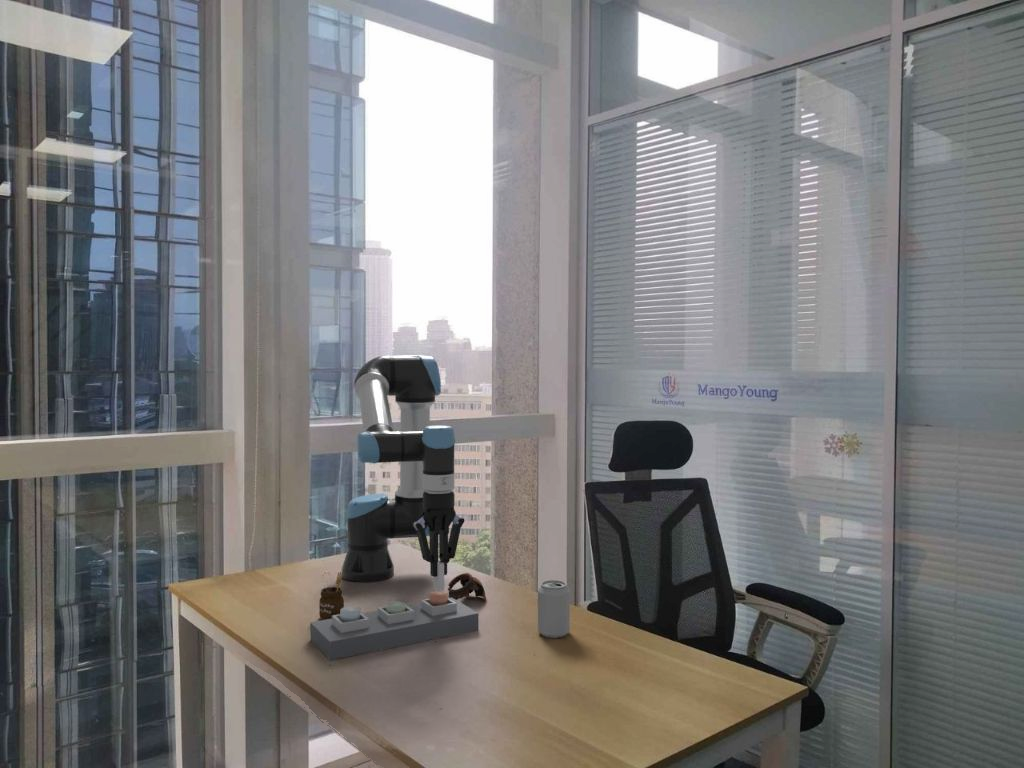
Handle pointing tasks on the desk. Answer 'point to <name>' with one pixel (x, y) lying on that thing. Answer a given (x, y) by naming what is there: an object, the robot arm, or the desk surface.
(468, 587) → the dark brown curved piece
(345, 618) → the pale blue button
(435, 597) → the terracotta button
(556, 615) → the can
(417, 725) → the desk surface
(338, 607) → the utensil holder
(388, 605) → the sage button
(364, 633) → the console
